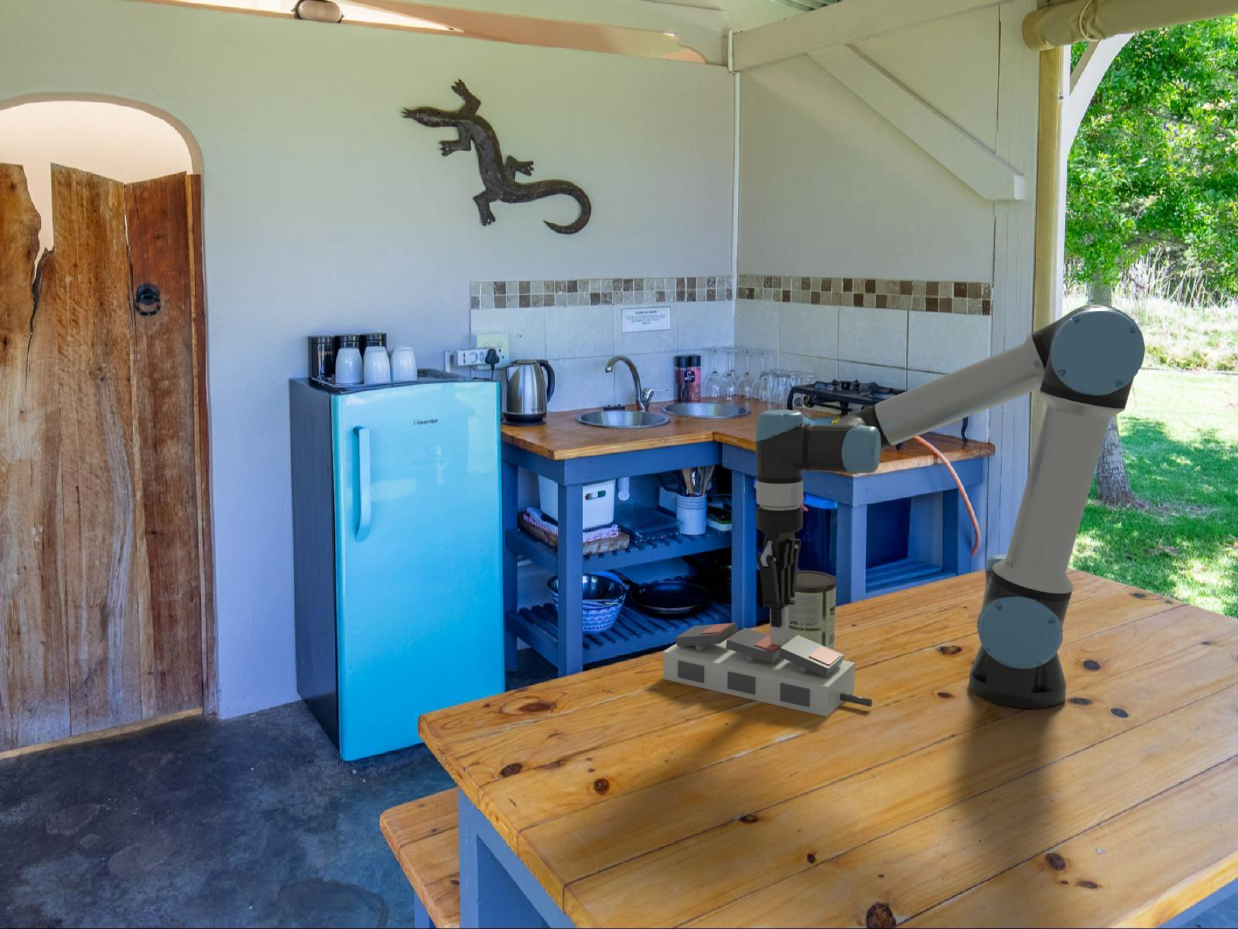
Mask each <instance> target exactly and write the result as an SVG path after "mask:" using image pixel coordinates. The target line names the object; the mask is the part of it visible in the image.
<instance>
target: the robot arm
mask: <svg viewBox="0 0 1238 929" xmlns="http://www.w3.org/2000/svg"><path fill="white" fill-rule="evenodd" d="M1145 346H1146V345H1145V340H1144V336H1143V333H1142V331H1141V329H1140V327H1139V325H1138V323H1136V321H1135V320H1134V319H1132V317H1131V316H1129V315H1128V314H1127V313H1125V312H1123V311H1122V310H1120V309H1117V308H1116V307H1114V306H1110V305H1106V304H1101V303H1100V304H1097V303H1096V304H1087V305H1083V306H1080V307H1078V308H1076V309H1074V310H1072V311H1070V312H1068V313H1067V314H1066V315H1064V316H1062V317H1061V318H1059V319H1058V320H1056V321H1054V322H1052V323H1050V324H1049V325H1046V326H1045V327H1042V328H1039V329H1038V330H1036V331H1033V332H1031V333H1028V335H1027V337H1026V339H1025V341H1024V342H1023V343H1020V344H1018V345H1016V346H1014V347H1011V348H1009V349H1005V350H1004V351H1001V352H998V353H997V354H994V355H991V356H990V357H987V358H984V359H981V360H980V361H977V362H975V363H971V364H969V365H967V366H965V367H961V368H959V369H957V370H955V371H952V372H950V373H948V374H945V375H943V376H941V377H938V378H935V379H933V380H931V381H929V382H926V383H923V384H922V385H919V386H917V387H914V388H911V389H910V390H907V391H904V392H901V393H900V394H897V395H894V396H893V397H888V399H885V400H882V401H880V402H877V403H876V404H874V405H871V406H870V405H869V406H868V407H865V408H863V409H861V410H857V411H855V410H854V411H852V412H849V413H847V414H845V415H843V416H842V417H840V419H839V420H838V421H837V422H836V423H835V424H813V423H810V424H809V423H805V420H804V415H803V413H802V412H801V411H799V410H795V409H793V410H790V409H771V410H770V409H769V410H764V411H762V412H760V413H759V415H757V418H756V427H755V428H756V430H755V432H756V433H755V438H754V442H755V465H756V468H755V469H756V472H755V473H756V479H755V480H756V483H755V484H754V488H755V490H756V491H755V492H756V493H755V494H756V498H755V500H756V503H757V504H758V506H757V507H756V508H755V515H756V516H755V517H756V518H755V519H756V520H755V522H756V523H755V525H756V526H755V527H756V528H757V529H758V530H759V531H762V533H764V538H763V539H764V540H763V552H762V553H757V554H756V558H755V559H756V562H757V565H758V568H759V569H758V570H759V576H760V585H761V587H760V588H761V594H762V602H763V606H764V607H767V608H769V635H770V644H776V645H782V646H783V645H785V644H786V643H787V642H789V606H788V605H794V604H795V601H794V600H791V598H794V596H795V588H796V578H797V571H798V567H799V566H798V564H799V555H800V550H801V546H802V540H801V539H800V538H795V537H796V534H795V533H796V532H798V531H800V530H802V529H803V527H804V518H803V516H804V511H803V510H804V509H803V507H802V506H801V505H802V504H803V503H804V475H803V473H804V471H805V472H822V473H823V472H825V473H841V474H843V473H845V474H852V475H858V474H872V473H875V472H876V471H877V470H878V468H879V467H880V466H879V464H880V461H881V451H883V450H886V449H888V448H890V447H893V446H894V445H898V444H900V443H903V442H905V441H908V440H911V439H912V438H915V437H919V436H921V435H923V434H927V433H928V432H932V431H933V430H937V429H939V428H941V427H944V426H947V425H949V424H952V423H955V422H957V421H959V420H962V419H964V418H968V417H970V416H972V415H975V414H978V413H980V412H983V411H985V410H989V409H991V408H993V407H996V406H999V405H1001V404H1003V403H1006V402H1009V401H1013V399H1017V398H1018V397H1022V396H1024V395H1027V394H1029V393H1032V392H1034V391H1038V390H1039V394H1040V396H1041V397H1042V399H1043V400H1044V402H1045V403H1046V409H1045V411H1044V416H1043V420H1042V423H1041V427H1040V431H1039V435H1038V437H1037V438H1038V439H1037V442H1036V446H1035V448H1034V454H1033V456H1032V457H1033V458H1032V460H1031V465H1030V468H1029V472H1028V475H1027V479H1026V484H1025V487H1024V491H1023V494H1022V498H1021V502H1020V506H1019V510H1018V512H1017V517H1016V520H1015V524H1014V528H1013V531H1012V535H1011V540H1010V542H1009V546H1008V550H1007V553H1005V554H1004V553H1002V554H1001V553H1000V554H994V555H991V556H989V557H988V559H987V561H986V566H985V569H984V574H985V583H984V584H985V585H984V593H983V599H982V604H981V609H980V614H978V618H977V622H976V628H977V634H978V638H979V641H980V646H979V649H978V651H977V653H976V656H975V659H974V660H973V663H972V665H971V668H970V671H969V674H968V676H969V677H968V688H969V689H970V690H971V692H972V693H973V694H974V695H976V696H977V697H979V698H982V699H984V700H986V701H988V702H991V703H994V704H998V705H1001V706H1006V707H1013V708H1019V709H1045V708H1050V707H1051V708H1052V707H1054V706H1057V705H1058V706H1059V704H1061V703H1063V702H1064V701H1065V700H1066V694H1067V682H1066V678H1065V676H1064V675H1065V674H1064V672H1063V667H1062V664H1061V660H1060V655H1059V653H1058V651H1059V649H1060V647H1061V645H1062V642H1063V637H1064V634H1063V632H1064V630H1063V626H1064V623H1065V619H1066V615H1067V611H1068V607H1069V605H1070V600H1071V597H1072V593H1073V591H1074V585H1073V583H1072V582H1071V580H1070V578H1069V577H1068V575H1067V570H1068V567H1069V564H1070V560H1071V556H1072V555H1073V554H1072V553H1073V549H1074V545H1075V542H1076V538H1077V536H1078V532H1079V529H1080V525H1081V522H1082V518H1083V515H1084V511H1085V507H1086V505H1087V500H1088V498H1089V494H1090V490H1091V486H1092V483H1093V480H1094V476H1095V472H1096V468H1097V465H1098V463H1099V458H1100V456H1101V451H1102V448H1103V444H1104V442H1105V441H1104V440H1105V438H1106V433H1107V431H1108V427H1109V423H1110V420H1111V419H1112V418H1113V417H1115V416H1116V415H1119V414H1121V413H1122V412H1123V411H1125V410H1126V406H1127V403H1128V399H1129V396H1130V394H1131V393H1130V392H1131V391H1132V390H1131V389H1132V386H1133V383H1134V379H1135V377H1136V376H1137V375H1138V373H1139V370H1140V369H1141V367H1142V365H1143V362H1144V359H1145V353H1146V352H1145V351H1146V347H1145Z"/></svg>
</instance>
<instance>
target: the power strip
mask: <svg viewBox="0 0 1238 929" xmlns="http://www.w3.org/2000/svg"><path fill="white" fill-rule="evenodd" d="M729 638H730V637H729ZM729 638H728V639H729ZM726 642H727V639H726V640H725V641H723V642H722V643H720V644H710V645H694V646H678V647H677V643H675V644H672V645H671V646H670V647H668V648H667V649H665V650H663V651H662V662H663V663H662V671H663V672H662V679H663V680H666V681H670V682H675V683H680V684H683V685H687V686H692V687H697V688H701V689H705V690H710V691H714V692H719V693H723V694H727V695H732V696H735V697H740V698H744V699H749V700H753V701H757V702H762V703H765V704H770V705H774V706H779V707H783V708H787V709H792V710H796V711H801V712H804V713H809V714H813V715H819V716H823V717H828V716H830V715H831V714H832V713H833V712H835V710H836V709H837V708H838V707H839V706H840V705H841V704H842V703H844V702H846V703H847V702H848V703H851V704H857V705H860V706H865V707H870V708H871V707H872V705H873V699H872V698H868V697H862V696H858V695H855V694H853V693H854V691H855V673H856V672H855V671H856V662H853V661H848V660H844V659H843V661H842V664H841V665H839V666H838V667H837V668H836V669H835V670H834V671H833V672H831V673H830V674H829V675H828V676H827V677H824V676H822V675H820V674H817V673H815V672H813V671H811V670H808V669H806V668H804V667H801V666H799V665H797V664H795V663H792V662H790V661H788V660H786V659H783V658H781V657H779V658H778V659H776V660H775V661H774V662H772V663H770V662H767V661H764V660H761V659H758V658H754V657H751V656H748V655H745V654H742V653H739V652H735V651H732V650H729V649H726Z"/></svg>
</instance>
